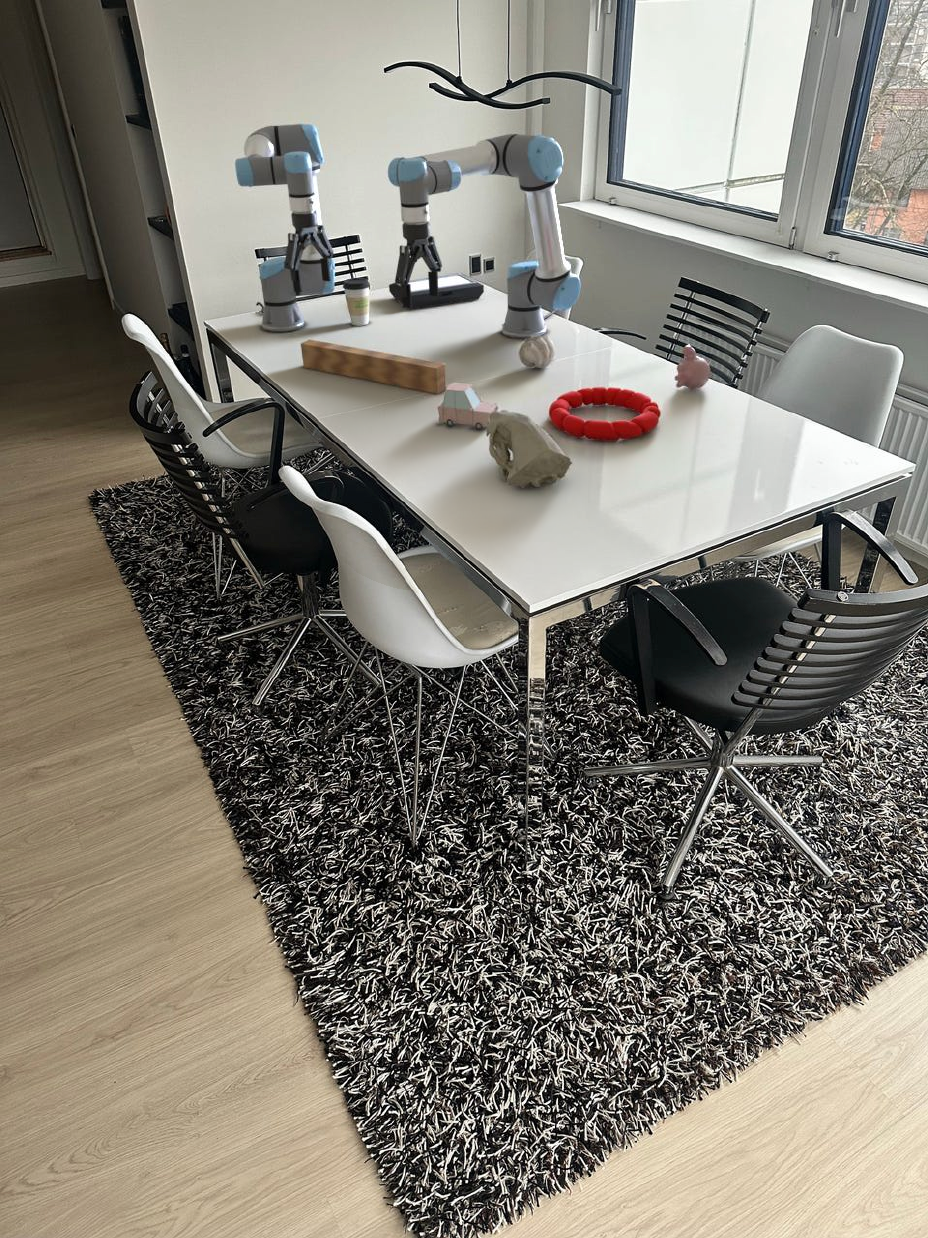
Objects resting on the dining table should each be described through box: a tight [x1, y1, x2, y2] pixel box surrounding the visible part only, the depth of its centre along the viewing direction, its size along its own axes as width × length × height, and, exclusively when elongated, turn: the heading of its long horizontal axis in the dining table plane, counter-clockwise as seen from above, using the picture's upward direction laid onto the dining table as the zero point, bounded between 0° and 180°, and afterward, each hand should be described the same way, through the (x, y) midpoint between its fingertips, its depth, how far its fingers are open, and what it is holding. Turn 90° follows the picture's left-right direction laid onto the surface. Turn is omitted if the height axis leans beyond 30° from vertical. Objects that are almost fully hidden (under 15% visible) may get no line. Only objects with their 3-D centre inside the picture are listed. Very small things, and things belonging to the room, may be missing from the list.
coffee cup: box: [342, 277, 371, 327], centre depth 323 cm, size 10×10×15 cm
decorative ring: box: [548, 386, 661, 442], centre depth 242 cm, size 7×30×30 cm
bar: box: [300, 339, 447, 395], centre depth 276 cm, size 52×5×8 cm, turn 58°
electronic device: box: [388, 273, 485, 310], centre depth 349 cm, size 32×6×20 cm
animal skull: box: [485, 409, 573, 489], centre depth 216 cm, size 17×25×20 cm
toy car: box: [437, 382, 499, 431], centre depth 243 cm, size 9×15×10 cm, turn 70°
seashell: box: [518, 335, 556, 369], centre depth 279 cm, size 10×15×10 cm
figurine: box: [674, 344, 711, 390], centre depth 259 cm, size 9×11×12 cm
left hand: (312, 286), depth 273 cm, fingers open, 13 cm apart
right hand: (421, 301), depth 255 cm, fingers open, 13 cm apart
